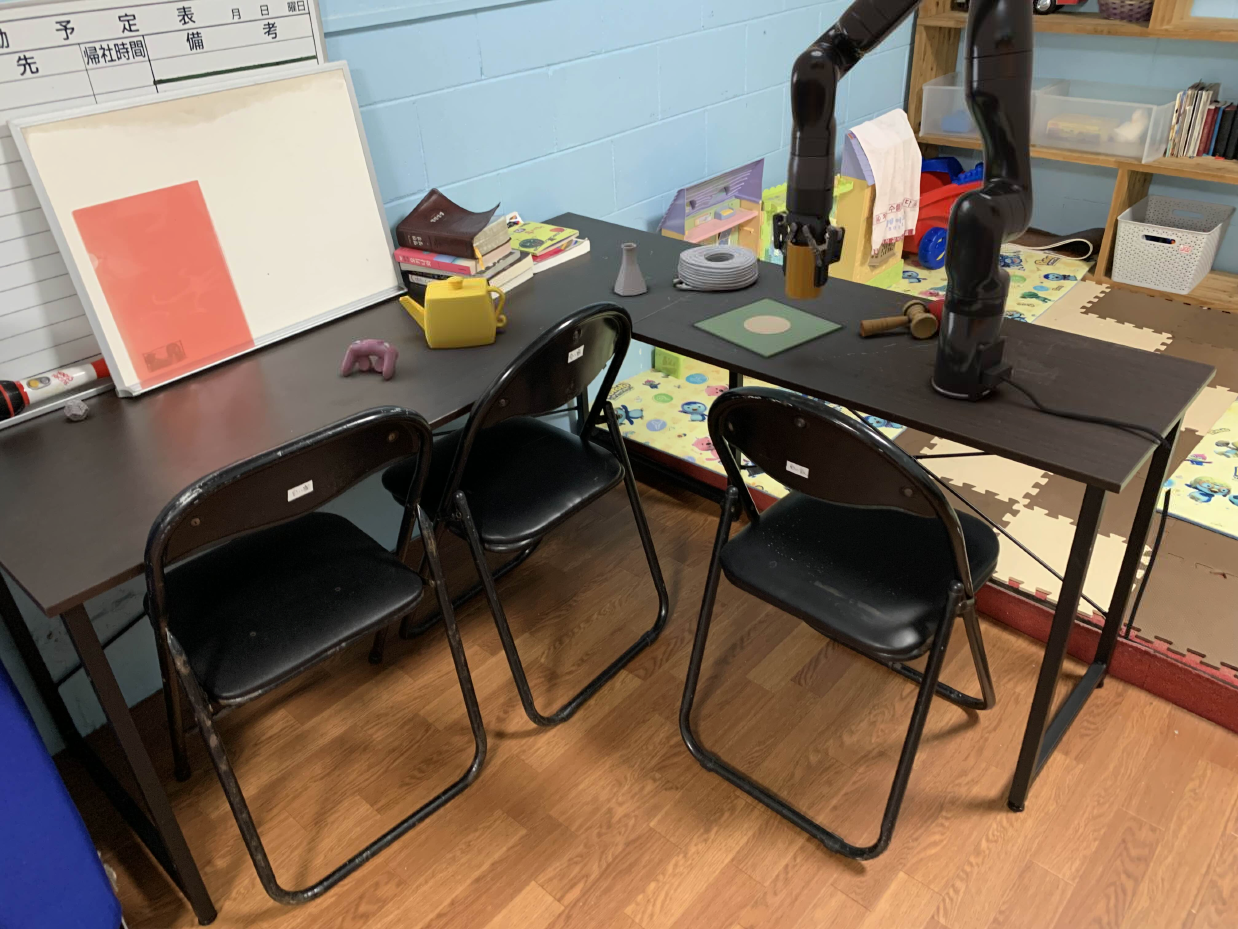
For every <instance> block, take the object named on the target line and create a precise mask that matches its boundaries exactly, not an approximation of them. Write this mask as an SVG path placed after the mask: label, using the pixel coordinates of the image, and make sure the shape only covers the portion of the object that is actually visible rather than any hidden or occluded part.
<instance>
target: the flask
mask: <svg viewBox="0 0 1238 929" xmlns="http://www.w3.org/2000/svg"><path fill="white" fill-rule="evenodd" d="M621 249H622V262H621V265H620V268H619V272H618V274H617V279H616V281H615V285H614V293H616V294H618V295H620V296H638V295H640V294H644V293H646V292H648V291H647V284H646V282H645V279H644V277H643V275H642V272H641V269H640V266H639V264H638V260H637V256H636V249H637V244H636V243H633V242H626V243H622V244H621Z"/></svg>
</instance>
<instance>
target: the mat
mask: <svg viewBox="0 0 1238 929" xmlns="http://www.w3.org/2000/svg"><path fill="white" fill-rule="evenodd" d="M693 327H695V328H697V329H700V330H702V331H704V332H707V333H709V334H711V335H714V336H715V337H718V338H721V339H723V340H726V341H728V342H730V343H733V344H734V345H736V346H739V347H742V348H744V349H746V350H747V351H748V350H749V351H751V352H753V353H756V354H757V355H760V356H763V357H765V358H770V357H772V356H775V355H777V354H780V353H783V352H785V351H787V350H789V349H792V348H795V347H797V346H800V345H802V344H805V343H807V342H810V341H812V340H815V339H817V338H820V337H822V336H825V335H827V334H830V333H832V332H835V331H837V330H840V329H842V327H843V326H842V325H840V324H838V323H835V322H832V321H829V320H827V319H825V318H821V317H818V316H815V315H813V314H810V313H807V312H805V311H802V310H799V309H797V308H794V307H791V306H789V305H786V304H784V303H780V302H778V301H775V300H773V299H769V298H764V299H761V300H758V301H756V302H753V303H750V304H747V305H744V306H741V307H739V308H736V309H732V310H730V311H727V312H725V313H722V314H719V315H716V316H714V317H711V318H707V319H705V320H702V321H700V322H696V323H694V324H693Z"/></svg>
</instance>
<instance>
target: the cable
mask: <svg viewBox="0 0 1238 929" xmlns="http://www.w3.org/2000/svg"><path fill="white" fill-rule="evenodd" d="M678 261H679V262H678V266H677V273H678V274H677V275H678V278H675V279H673V281H672V283H673V284H674V285H675V287H676V289H679V290H683V291H692V290H693V291H699V292H701V291H702V292H706V291H708V292H709V291H728V290H729V291H730V290H738V289H739V290H740V289H743V288H745V287H748V286H750V285H751V284H753V283H754V282H755V281H756V280H757V278H758V276H759V269H758V266H759V265H758V256H757V254H756V252H755V251H753V250H752V249H750V248H748V247H745V246H741V245H735V244H707V245H701V246H697V247H692V248H690V249H689V248H688V249H686V250H684V251H682V252H681V253H680V254H679V260H678ZM682 282H683V283H682ZM680 283H682V284H680Z"/></svg>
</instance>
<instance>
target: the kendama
mask: <svg viewBox="0 0 1238 929" xmlns="http://www.w3.org/2000/svg"><path fill="white" fill-rule="evenodd" d="M944 300H945V298H944V299H943V298H941V299H940V298H939V299H936V300H934V301H931V302H930V303H929V304H928V305H927V306H926V304H925V303H924V302H923V301H922V300H919V299H913V300H910V301H908V302H906V304H905V305H904V306H903V307H902V310H901V314H902V316H892V317H891V316H889V317H883V318H882V317H881V318H875V319H865V320H860V322H859V331H860V334H861V336H862V337H869V336H871V335H875V334H878V333H883V332H886V331H887V332H888V331H891V330H894V329H895V330H896V329H898V328H901V327H904V326H908V325H910V326H909V327H910V332H911V333H912V335H913V336H914V337H916V338H918V339H926V338H929V337H931V336H932V335H935V333H936V332H940V326H941V320H942V313H943V306H944Z"/></svg>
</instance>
